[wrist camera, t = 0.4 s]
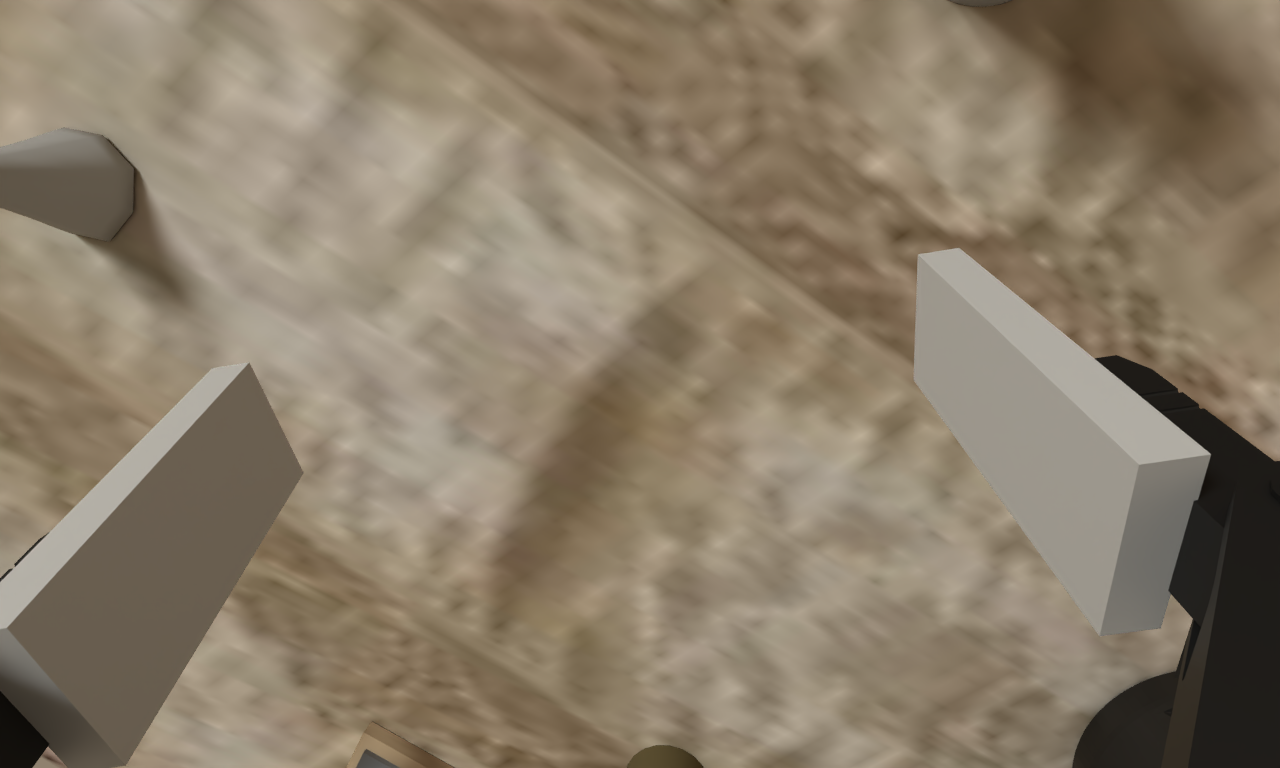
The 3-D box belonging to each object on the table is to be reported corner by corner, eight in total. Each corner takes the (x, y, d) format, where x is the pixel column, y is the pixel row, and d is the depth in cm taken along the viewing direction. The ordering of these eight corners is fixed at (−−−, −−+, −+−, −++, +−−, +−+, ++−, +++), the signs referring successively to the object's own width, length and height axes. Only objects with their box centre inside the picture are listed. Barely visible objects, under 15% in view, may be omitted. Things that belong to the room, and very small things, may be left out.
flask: (30, 207, 50) (-142, 202, 40) (60, 108, 48) (-114, 79, 38) (120, 259, 50) (-32, 268, 40) (153, 163, 48) (2, 147, 38)
